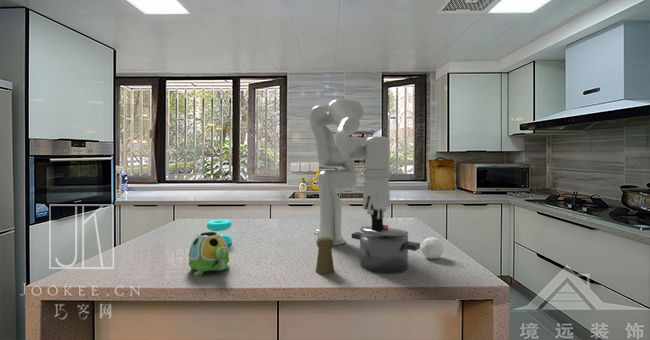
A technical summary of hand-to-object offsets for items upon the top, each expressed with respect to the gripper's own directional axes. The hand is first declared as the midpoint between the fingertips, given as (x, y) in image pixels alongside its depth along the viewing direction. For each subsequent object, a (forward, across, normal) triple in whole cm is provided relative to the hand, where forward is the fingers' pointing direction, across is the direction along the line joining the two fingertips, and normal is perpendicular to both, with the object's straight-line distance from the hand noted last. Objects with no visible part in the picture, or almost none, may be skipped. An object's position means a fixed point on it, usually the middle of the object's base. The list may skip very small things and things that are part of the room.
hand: (377, 230), depth 100 cm
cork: (+13, +12, -12) cm, 22 cm away
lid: (+2, -5, 0) cm, 5 cm away
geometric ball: (+13, -23, +10) cm, 28 cm away
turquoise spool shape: (+13, +17, -66) cm, 70 cm away
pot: (+13, -5, 0) cm, 14 cm away
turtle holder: (+13, +35, -41) cm, 56 cm away
